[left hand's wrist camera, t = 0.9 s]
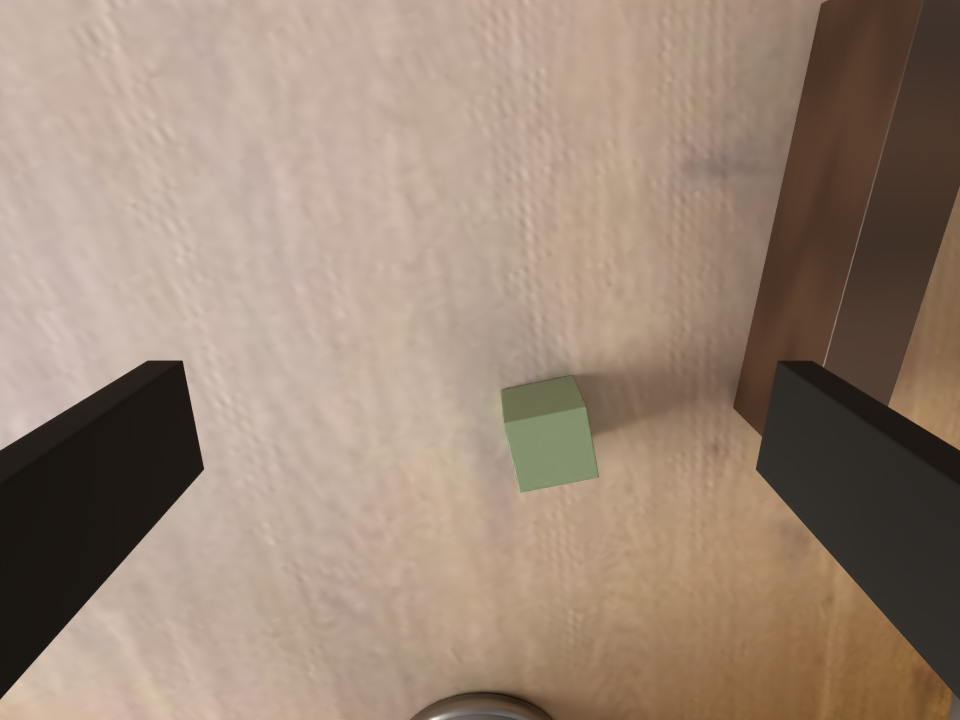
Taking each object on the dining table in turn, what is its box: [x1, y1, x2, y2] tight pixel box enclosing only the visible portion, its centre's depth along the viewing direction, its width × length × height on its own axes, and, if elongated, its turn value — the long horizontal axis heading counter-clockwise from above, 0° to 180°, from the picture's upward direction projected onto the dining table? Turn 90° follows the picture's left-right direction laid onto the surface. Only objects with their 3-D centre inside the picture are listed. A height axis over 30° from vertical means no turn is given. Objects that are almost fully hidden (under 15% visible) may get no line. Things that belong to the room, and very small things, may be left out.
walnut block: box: [734, 0, 960, 436], centre depth 30 cm, size 24×4×8 cm, turn 178°
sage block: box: [501, 375, 599, 492], centre depth 36 cm, size 5×5×5 cm
